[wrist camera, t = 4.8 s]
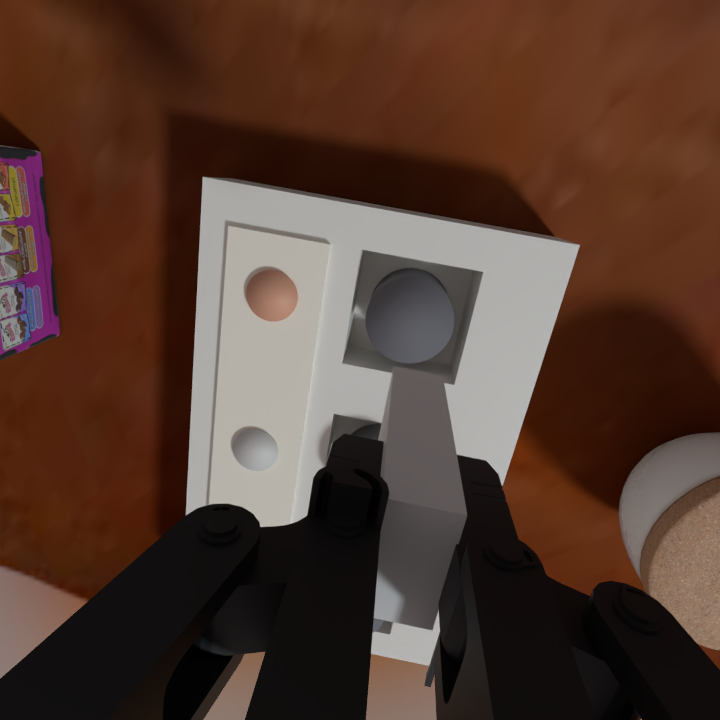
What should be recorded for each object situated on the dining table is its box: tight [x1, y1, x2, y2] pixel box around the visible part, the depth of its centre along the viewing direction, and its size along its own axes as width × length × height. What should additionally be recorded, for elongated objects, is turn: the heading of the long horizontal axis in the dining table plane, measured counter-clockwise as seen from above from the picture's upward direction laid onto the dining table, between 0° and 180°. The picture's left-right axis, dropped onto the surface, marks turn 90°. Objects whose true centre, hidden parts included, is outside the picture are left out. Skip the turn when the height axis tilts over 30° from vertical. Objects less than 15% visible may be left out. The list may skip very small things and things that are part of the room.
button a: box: [365, 268, 454, 363], centre depth 25 cm, size 4×4×3 cm
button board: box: [186, 177, 580, 666], centre depth 29 cm, size 18×28×4 cm, turn 171°
